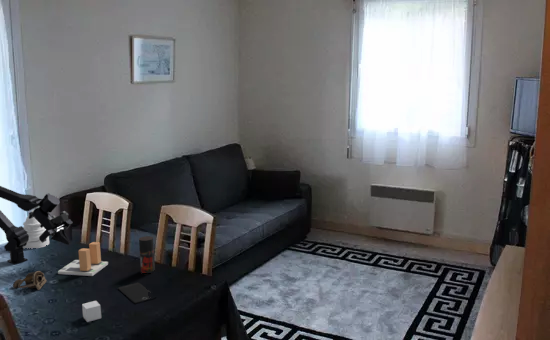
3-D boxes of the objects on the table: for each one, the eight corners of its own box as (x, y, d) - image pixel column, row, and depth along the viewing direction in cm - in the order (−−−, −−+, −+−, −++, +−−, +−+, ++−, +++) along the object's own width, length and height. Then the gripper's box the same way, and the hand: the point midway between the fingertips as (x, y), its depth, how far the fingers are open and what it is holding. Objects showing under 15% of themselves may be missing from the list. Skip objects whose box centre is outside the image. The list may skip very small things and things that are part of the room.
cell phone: (135, 305, 203) (135, 302, 203) (117, 289, 217) (117, 287, 217) (157, 299, 208) (157, 296, 208) (138, 284, 223) (138, 282, 222)
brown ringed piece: (26, 282, 211) (48, 269, 219) (6, 274, 217) (27, 261, 225) (31, 297, 214) (51, 284, 222) (10, 288, 220) (31, 275, 228)
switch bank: (58, 273, 234) (57, 270, 233) (75, 262, 247) (75, 259, 247) (92, 276, 231) (92, 273, 231) (108, 264, 244) (107, 261, 244)
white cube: (97, 313, 196) (96, 300, 195) (101, 318, 192) (100, 305, 191) (83, 317, 193) (82, 304, 192) (87, 322, 189) (86, 308, 188)
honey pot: (54, 243, 274) (51, 208, 271) (31, 250, 264) (28, 214, 260) (39, 239, 281) (35, 205, 278) (16, 246, 270) (12, 211, 267)
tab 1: (80, 270, 233) (78, 250, 231) (83, 268, 236) (82, 248, 234) (87, 271, 232) (85, 251, 230) (91, 268, 235) (89, 248, 233)
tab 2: (90, 263, 241) (89, 244, 239) (93, 261, 244) (92, 242, 242) (97, 263, 240) (96, 244, 239) (101, 261, 243) (99, 242, 242)
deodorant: (138, 272, 234) (135, 239, 231) (147, 268, 239) (145, 235, 236) (148, 275, 231) (146, 241, 228) (157, 270, 236) (156, 237, 234)
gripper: (43, 212, 231) (68, 239, 232) (67, 202, 250) (90, 226, 250) (28, 229, 234) (53, 255, 235) (53, 217, 252) (76, 241, 253)
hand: (69, 244), depth 243 cm, fingers closed
